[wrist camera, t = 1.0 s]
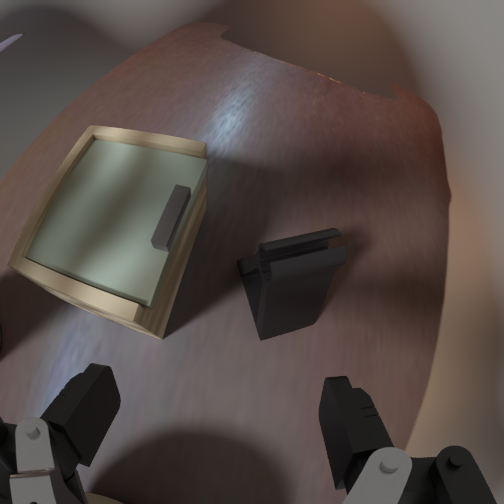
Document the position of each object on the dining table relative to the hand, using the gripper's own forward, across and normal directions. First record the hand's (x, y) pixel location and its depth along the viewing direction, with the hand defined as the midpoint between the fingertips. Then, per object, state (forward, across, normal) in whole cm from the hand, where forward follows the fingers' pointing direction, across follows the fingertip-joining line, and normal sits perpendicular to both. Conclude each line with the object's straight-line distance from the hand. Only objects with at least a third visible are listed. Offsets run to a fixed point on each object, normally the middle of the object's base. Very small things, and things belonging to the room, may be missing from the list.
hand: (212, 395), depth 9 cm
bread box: (+21, +12, 0) cm, 25 cm away
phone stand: (+21, -4, +4) cm, 22 cm away
